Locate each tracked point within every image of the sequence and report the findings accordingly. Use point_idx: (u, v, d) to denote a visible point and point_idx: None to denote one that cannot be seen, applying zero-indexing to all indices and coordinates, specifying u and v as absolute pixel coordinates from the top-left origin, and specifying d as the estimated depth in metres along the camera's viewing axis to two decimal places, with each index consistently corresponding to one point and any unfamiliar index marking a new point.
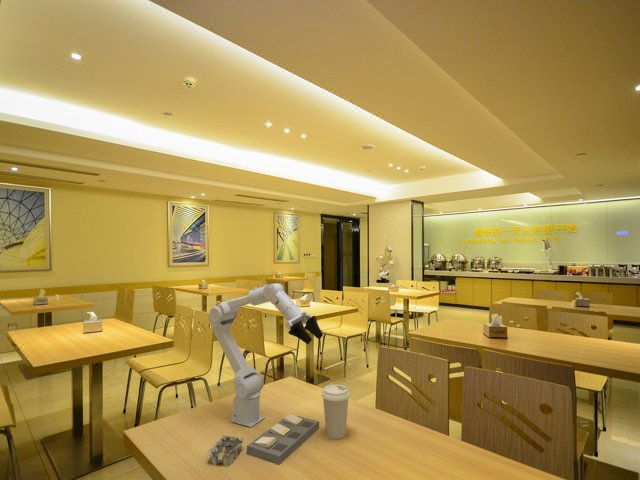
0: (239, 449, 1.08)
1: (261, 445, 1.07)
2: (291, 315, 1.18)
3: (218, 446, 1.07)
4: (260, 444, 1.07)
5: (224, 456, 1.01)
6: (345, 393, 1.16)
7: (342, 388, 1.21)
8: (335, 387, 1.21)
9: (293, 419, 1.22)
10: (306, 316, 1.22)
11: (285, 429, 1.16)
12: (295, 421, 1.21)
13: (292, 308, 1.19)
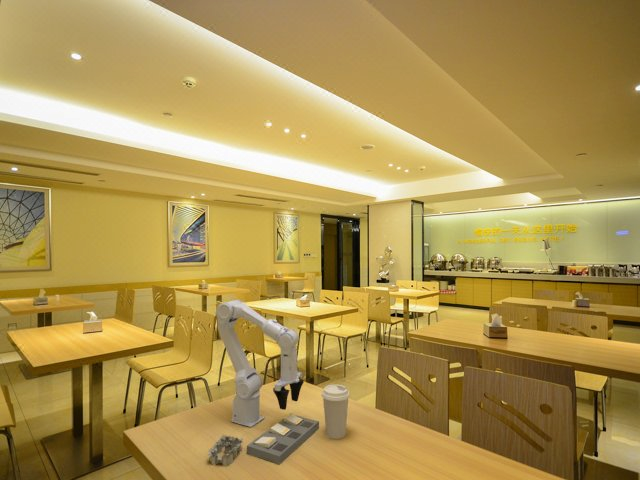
0: (238, 449, 1.08)
1: (261, 445, 1.07)
2: (285, 375, 1.21)
3: (217, 446, 1.07)
4: (260, 444, 1.07)
5: (224, 456, 1.01)
6: (345, 393, 1.16)
7: (342, 388, 1.21)
8: (335, 387, 1.21)
9: (293, 419, 1.22)
10: None
11: (285, 429, 1.16)
12: (295, 421, 1.21)
13: (291, 370, 1.22)
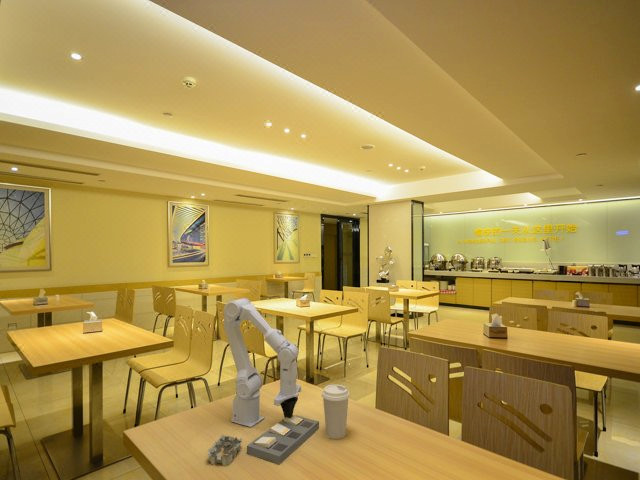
0: (238, 449, 1.08)
1: (261, 445, 1.07)
2: (285, 390, 1.21)
3: (217, 446, 1.07)
4: (260, 444, 1.07)
5: (223, 456, 1.01)
6: (345, 393, 1.16)
7: (342, 388, 1.21)
8: (335, 387, 1.21)
9: (293, 419, 1.22)
10: None
11: (285, 429, 1.16)
12: (295, 421, 1.21)
13: (290, 385, 1.22)
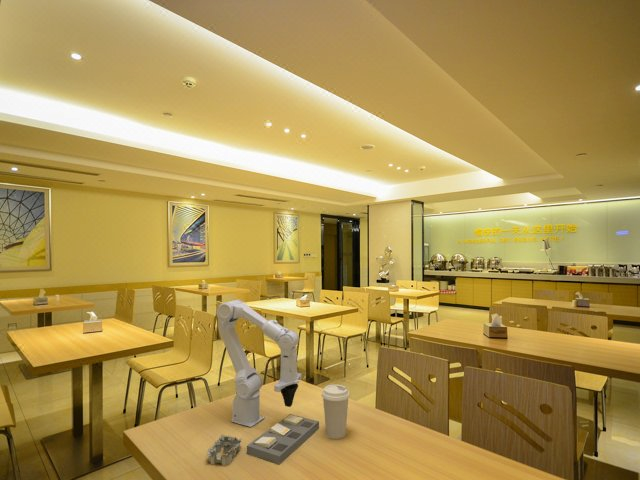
0: (237, 449, 1.08)
1: (261, 445, 1.07)
2: (285, 377, 1.21)
3: (216, 446, 1.07)
4: (260, 444, 1.07)
5: (223, 456, 1.01)
6: (345, 393, 1.16)
7: (342, 388, 1.21)
8: (335, 387, 1.21)
9: (293, 419, 1.22)
10: None
11: (285, 429, 1.16)
12: (295, 420, 1.21)
13: (291, 372, 1.22)
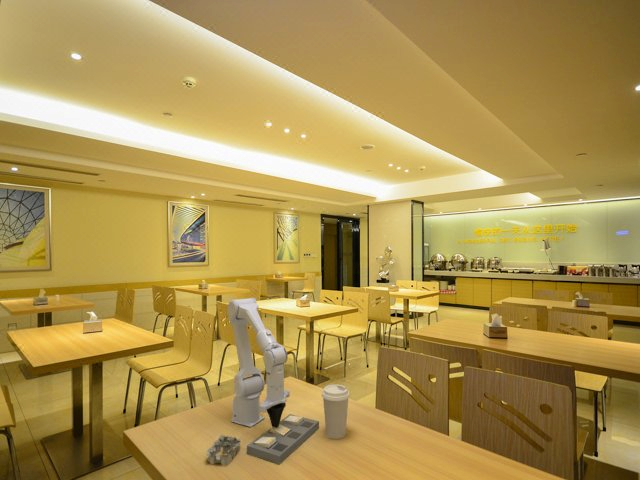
0: (237, 449, 1.08)
1: (261, 445, 1.07)
2: (271, 395, 1.14)
3: (216, 446, 1.07)
4: (260, 444, 1.07)
5: (222, 456, 1.01)
6: (345, 393, 1.16)
7: (342, 388, 1.21)
8: (335, 387, 1.21)
9: (293, 419, 1.22)
10: None
11: (285, 429, 1.16)
12: (295, 420, 1.21)
13: (277, 390, 1.15)
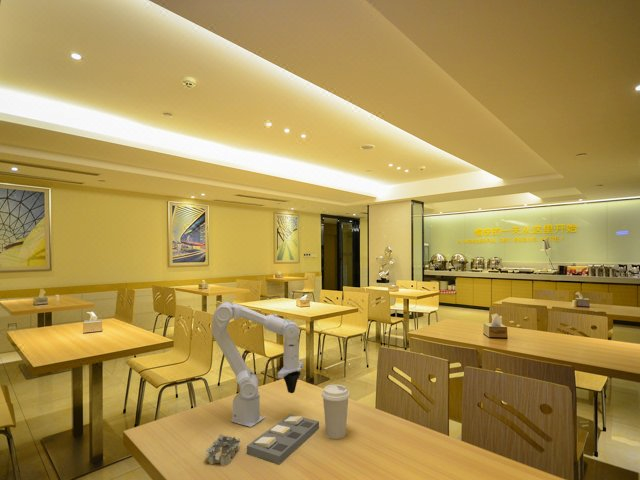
0: (236, 449, 1.08)
1: (261, 445, 1.07)
2: (288, 364, 1.28)
3: (215, 446, 1.07)
4: (260, 444, 1.07)
5: (221, 456, 1.01)
6: (345, 393, 1.16)
7: (342, 388, 1.21)
8: (335, 387, 1.21)
9: (292, 419, 1.22)
10: None
11: (285, 428, 1.16)
12: (294, 419, 1.21)
13: (293, 360, 1.28)
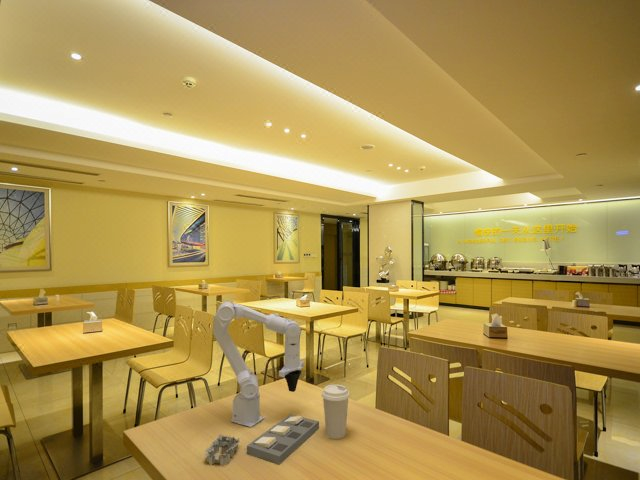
0: (235, 449, 1.08)
1: (261, 445, 1.07)
2: (289, 363, 1.29)
3: (214, 446, 1.07)
4: (260, 444, 1.07)
5: (221, 456, 1.01)
6: (345, 393, 1.16)
7: (342, 388, 1.21)
8: (335, 387, 1.21)
9: (292, 419, 1.22)
10: None
11: (285, 427, 1.16)
12: (294, 419, 1.21)
13: (294, 359, 1.29)
